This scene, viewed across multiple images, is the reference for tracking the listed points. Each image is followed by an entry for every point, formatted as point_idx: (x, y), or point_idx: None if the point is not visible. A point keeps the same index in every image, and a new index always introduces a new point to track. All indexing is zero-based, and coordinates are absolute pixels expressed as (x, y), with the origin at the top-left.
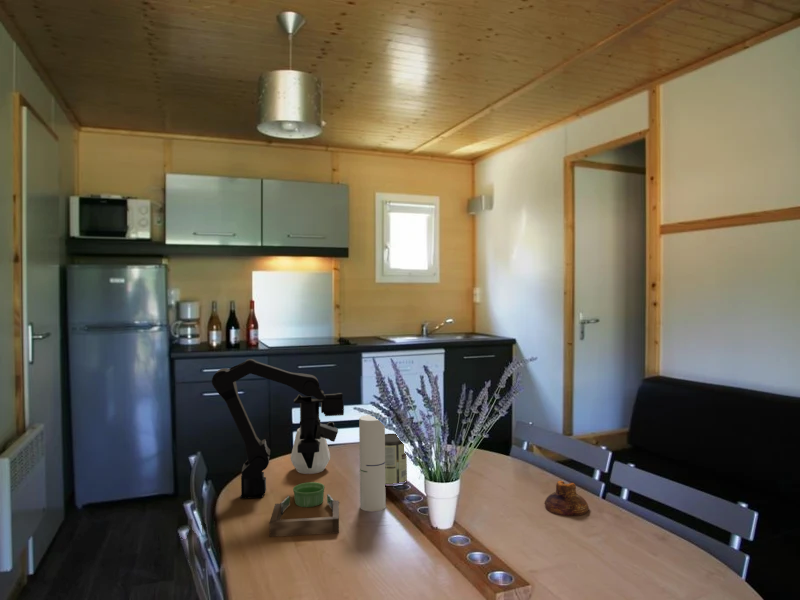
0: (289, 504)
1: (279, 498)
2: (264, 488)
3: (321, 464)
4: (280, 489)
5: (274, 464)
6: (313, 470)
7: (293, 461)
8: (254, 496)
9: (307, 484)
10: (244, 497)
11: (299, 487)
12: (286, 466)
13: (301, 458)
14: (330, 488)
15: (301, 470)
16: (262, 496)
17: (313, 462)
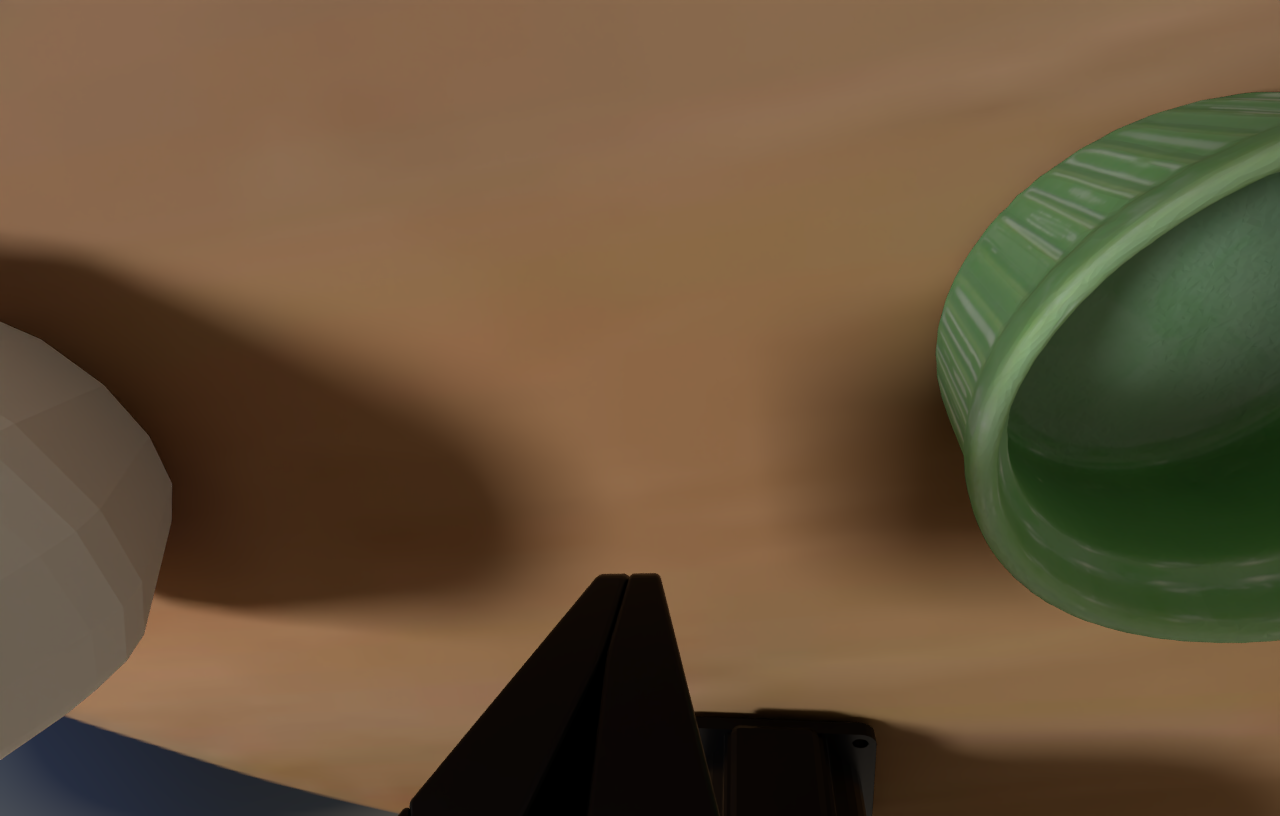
0: None
1: (904, 615)
2: (820, 778)
3: None
4: None
5: (93, 692)
6: (98, 423)
7: (110, 675)
8: (871, 774)
9: (998, 467)
10: (870, 813)
11: (1057, 551)
12: None
13: (54, 661)
14: (583, 76)
15: (161, 534)
16: (867, 731)
17: (15, 492)
